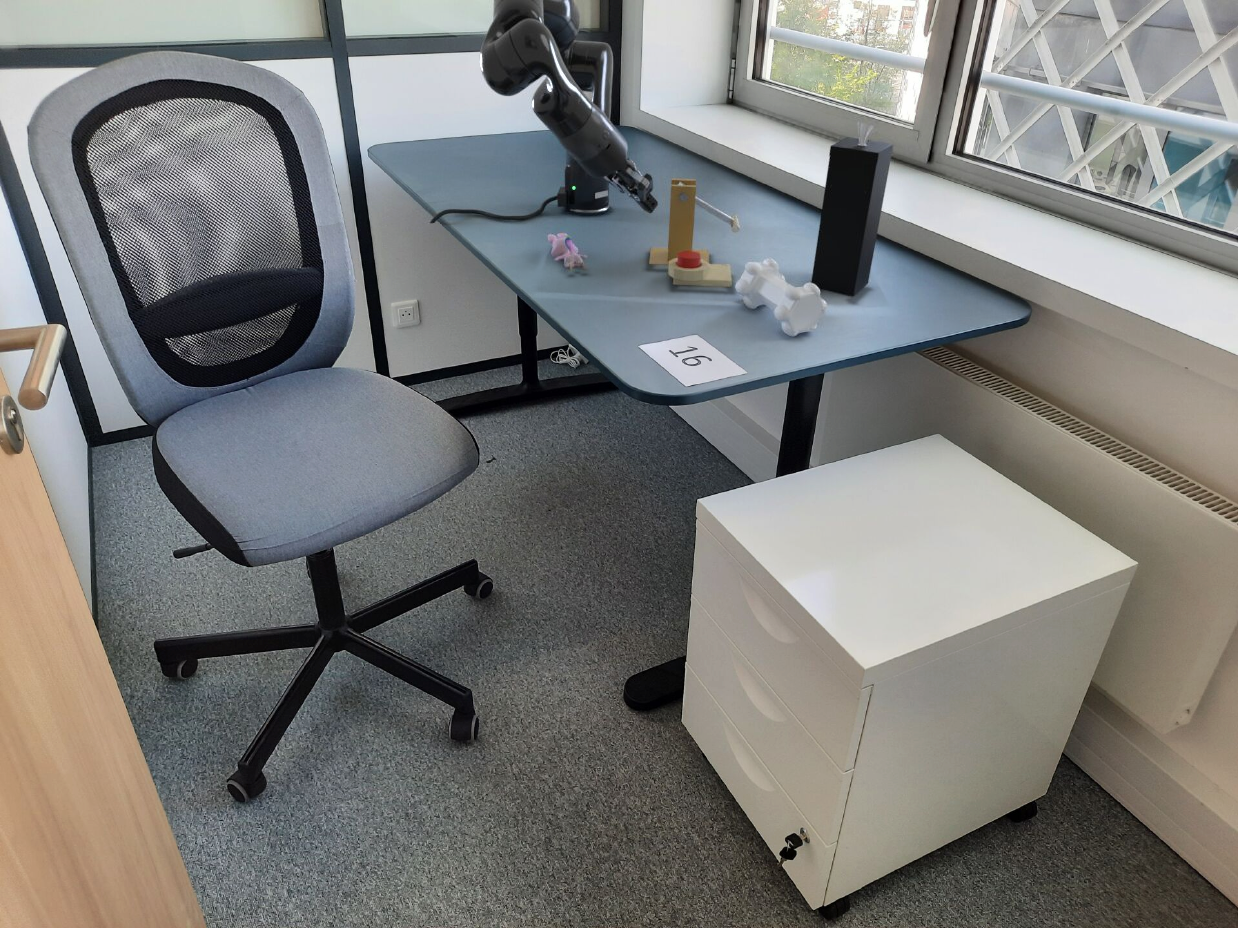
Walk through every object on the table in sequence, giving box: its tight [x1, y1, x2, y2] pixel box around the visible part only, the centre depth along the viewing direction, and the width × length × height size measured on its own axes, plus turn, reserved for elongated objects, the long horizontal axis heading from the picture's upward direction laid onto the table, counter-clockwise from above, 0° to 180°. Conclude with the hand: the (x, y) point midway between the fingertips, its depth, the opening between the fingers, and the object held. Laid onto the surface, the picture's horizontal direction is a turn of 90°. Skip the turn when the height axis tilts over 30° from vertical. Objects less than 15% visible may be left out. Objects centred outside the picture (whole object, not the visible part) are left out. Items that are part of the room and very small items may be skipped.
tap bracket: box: [648, 178, 710, 266], centre depth 160 cm, size 11×9×15 cm
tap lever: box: [678, 182, 740, 234], centre depth 159 cm, size 13×6×2 cm, turn 88°
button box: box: [667, 258, 733, 288], centre depth 154 cm, size 11×9×4 cm
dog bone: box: [735, 257, 828, 337], centre depth 141 cm, size 15×9×8 cm, turn 24°
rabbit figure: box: [547, 232, 588, 272], centre depth 162 cm, size 6×6×15 cm
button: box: [677, 251, 701, 269], centre depth 152 cm, size 4×4×2 cm
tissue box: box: [810, 121, 895, 297], centre depth 146 cm, size 8×8×28 cm
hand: (652, 207), depth 142 cm, fingers closed
